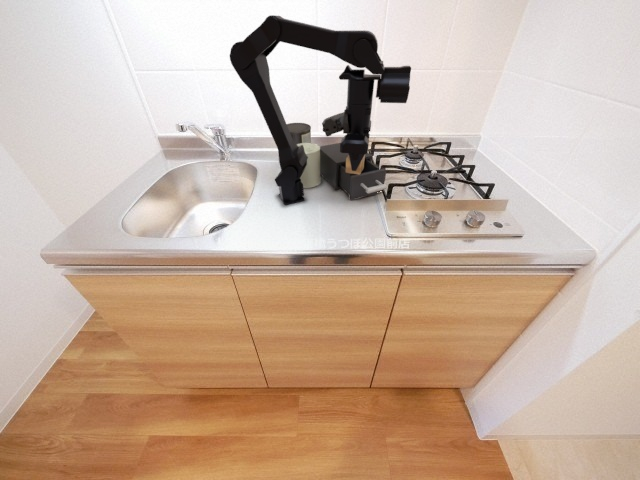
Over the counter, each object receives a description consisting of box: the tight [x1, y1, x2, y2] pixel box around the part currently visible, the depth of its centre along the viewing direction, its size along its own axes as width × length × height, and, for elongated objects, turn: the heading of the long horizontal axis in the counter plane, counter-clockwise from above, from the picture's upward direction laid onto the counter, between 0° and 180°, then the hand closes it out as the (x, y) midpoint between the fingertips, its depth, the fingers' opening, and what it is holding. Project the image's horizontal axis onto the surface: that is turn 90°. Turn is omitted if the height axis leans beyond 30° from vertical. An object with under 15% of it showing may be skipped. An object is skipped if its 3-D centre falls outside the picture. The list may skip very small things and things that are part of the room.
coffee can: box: [286, 122, 312, 145], centre depth 91 cm, size 10×10×14 cm
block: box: [346, 155, 365, 175], centre depth 67 cm, size 4×4×4 cm
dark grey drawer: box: [338, 159, 388, 201], centre depth 77 cm, size 18×11×7 cm, turn 23°
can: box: [297, 142, 322, 189], centre depth 82 cm, size 9×9×12 cm
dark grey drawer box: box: [319, 142, 373, 190], centre depth 85 cm, size 15×13×9 cm
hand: (354, 166), depth 67 cm, fingers closed on block, 4 cm apart
